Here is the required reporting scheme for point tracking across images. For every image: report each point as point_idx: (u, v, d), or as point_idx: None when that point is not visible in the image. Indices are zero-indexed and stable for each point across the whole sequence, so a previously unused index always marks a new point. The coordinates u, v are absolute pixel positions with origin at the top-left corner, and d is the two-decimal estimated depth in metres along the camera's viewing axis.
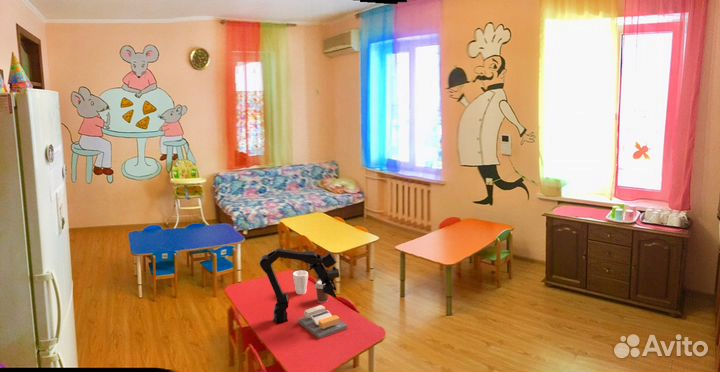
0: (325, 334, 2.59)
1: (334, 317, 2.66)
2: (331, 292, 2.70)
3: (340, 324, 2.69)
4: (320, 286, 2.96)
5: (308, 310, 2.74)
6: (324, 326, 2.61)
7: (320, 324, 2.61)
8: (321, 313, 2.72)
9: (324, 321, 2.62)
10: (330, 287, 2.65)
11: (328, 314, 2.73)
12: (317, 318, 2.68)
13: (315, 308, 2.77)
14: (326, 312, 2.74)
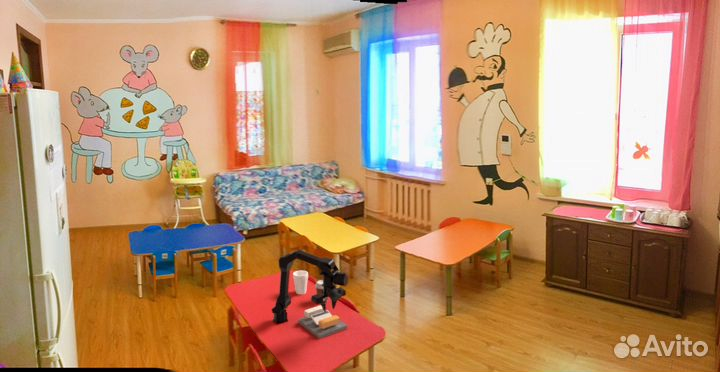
0: (325, 334, 2.59)
1: (334, 317, 2.66)
2: (322, 304, 2.60)
3: (340, 324, 2.69)
4: (320, 286, 2.96)
5: (308, 310, 2.74)
6: (324, 326, 2.61)
7: (320, 324, 2.61)
8: (321, 313, 2.72)
9: (324, 321, 2.62)
10: (315, 301, 2.55)
11: (328, 314, 2.73)
12: (317, 318, 2.68)
13: (315, 308, 2.77)
14: (326, 312, 2.74)
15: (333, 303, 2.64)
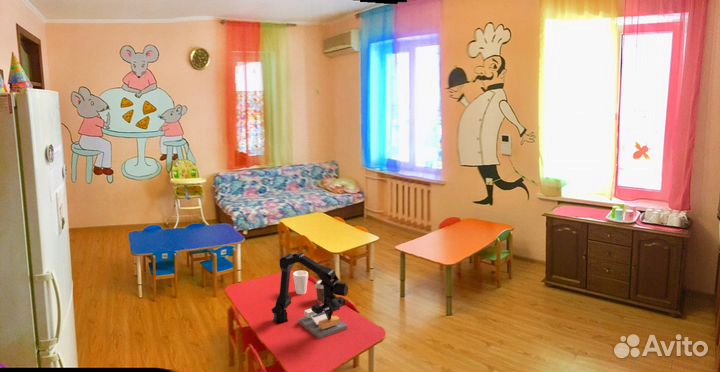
0: (325, 334, 2.59)
1: (334, 318, 2.66)
2: (326, 313, 2.63)
3: (340, 324, 2.69)
4: (320, 286, 2.96)
5: (308, 310, 2.74)
6: (324, 327, 2.61)
7: (320, 325, 2.62)
8: (321, 313, 2.72)
9: (324, 322, 2.62)
10: (315, 311, 2.56)
11: None
12: (317, 318, 2.68)
13: None
14: None
15: None
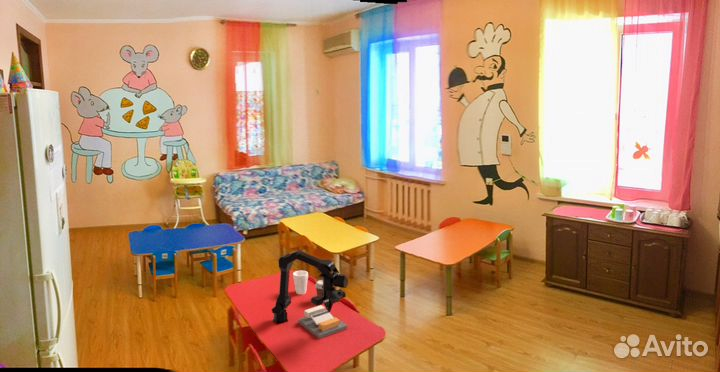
0: (325, 334, 2.59)
1: (334, 319, 2.67)
2: (326, 305, 2.62)
3: (340, 324, 2.69)
4: (320, 286, 2.96)
5: (308, 310, 2.74)
6: (324, 328, 2.61)
7: (320, 326, 2.62)
8: (321, 313, 2.72)
9: (324, 323, 2.62)
10: (315, 303, 2.55)
11: (328, 314, 2.73)
12: (317, 318, 2.68)
13: (315, 308, 2.77)
14: (326, 312, 2.74)
15: None
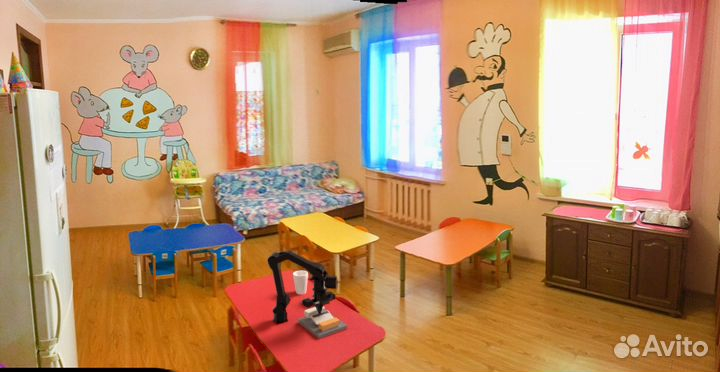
0: (325, 334, 2.59)
1: (334, 319, 2.67)
2: (316, 306, 2.71)
3: (340, 324, 2.69)
4: None
5: (308, 310, 2.74)
6: (324, 328, 2.61)
7: (320, 326, 2.62)
8: (321, 313, 2.72)
9: (324, 323, 2.62)
10: (306, 305, 2.64)
11: (328, 314, 2.73)
12: (317, 318, 2.68)
13: (315, 308, 2.77)
14: (326, 312, 2.74)
15: None
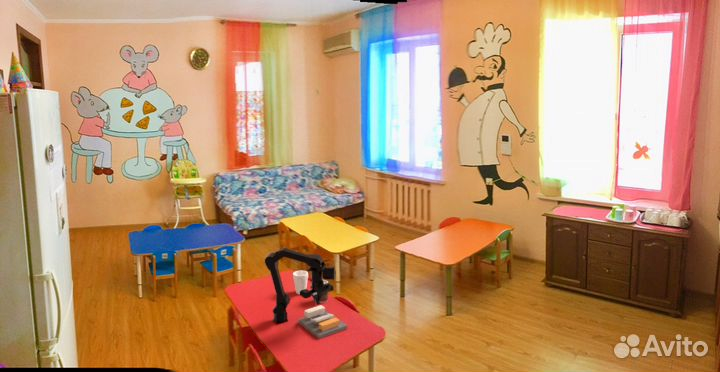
0: (325, 334, 2.59)
1: (334, 319, 2.67)
2: (314, 298, 2.70)
3: (340, 324, 2.69)
4: None
5: (308, 310, 2.74)
6: (324, 328, 2.61)
7: (320, 326, 2.62)
8: (321, 315, 2.73)
9: (324, 323, 2.62)
10: (303, 295, 2.63)
11: (328, 314, 2.73)
12: (317, 318, 2.69)
13: (315, 308, 2.77)
14: (326, 314, 2.74)
15: None
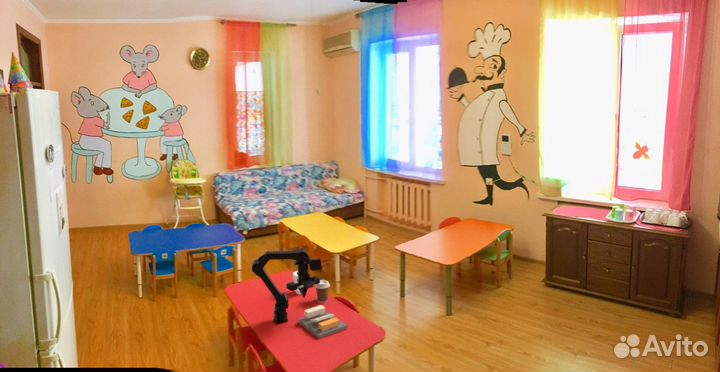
0: (325, 334, 2.59)
1: (334, 319, 2.67)
2: (301, 290, 2.75)
3: (340, 324, 2.69)
4: (320, 286, 2.96)
5: (308, 310, 2.74)
6: (324, 328, 2.61)
7: (320, 326, 2.62)
8: (321, 316, 2.73)
9: (324, 323, 2.62)
10: (290, 288, 2.68)
11: (328, 314, 2.73)
12: (317, 318, 2.69)
13: (315, 308, 2.77)
14: (326, 314, 2.74)
15: None
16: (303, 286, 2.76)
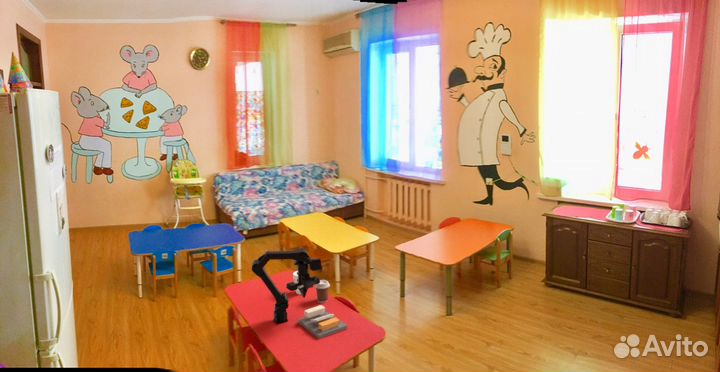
0: (325, 334, 2.59)
1: (334, 319, 2.67)
2: (301, 290, 2.75)
3: (340, 324, 2.69)
4: (320, 286, 2.96)
5: (308, 310, 2.74)
6: (324, 328, 2.61)
7: (320, 326, 2.62)
8: (321, 316, 2.73)
9: (324, 323, 2.62)
10: (290, 288, 2.68)
11: (328, 314, 2.73)
12: (317, 318, 2.69)
13: (315, 308, 2.77)
14: (326, 314, 2.74)
15: None
16: (303, 286, 2.76)
